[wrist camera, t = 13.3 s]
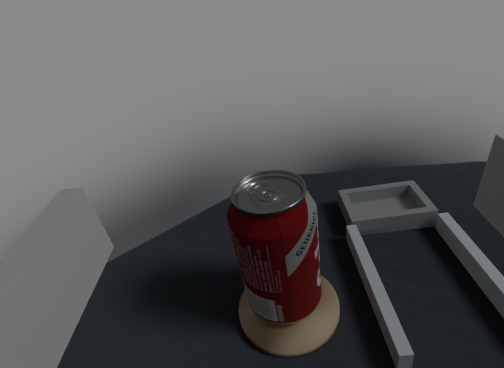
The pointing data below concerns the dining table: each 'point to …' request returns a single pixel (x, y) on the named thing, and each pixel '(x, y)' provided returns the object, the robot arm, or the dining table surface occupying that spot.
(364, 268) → the channel
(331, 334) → the cork coaster
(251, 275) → the soda can
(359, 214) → the tray
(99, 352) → the dining table surface
